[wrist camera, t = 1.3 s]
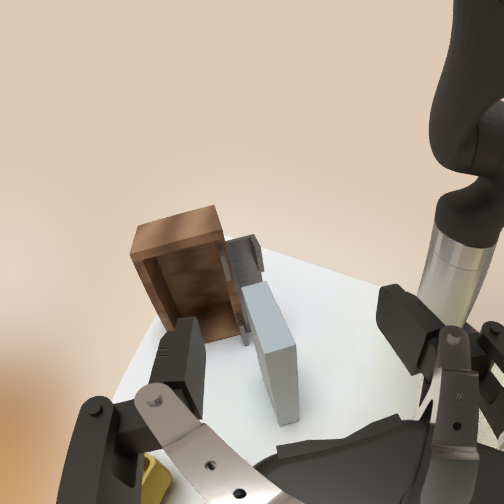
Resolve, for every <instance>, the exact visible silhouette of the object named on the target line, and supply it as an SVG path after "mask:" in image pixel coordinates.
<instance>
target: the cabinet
mask: <svg viewBox="0 0 504 504" xmlns="http://www.w3.org/2000/svg"><path fill="white" fill-rule="evenodd" d="M219 245H223V248H224V252H225V255H226V259H227V263H228V267H229V271H230V275H231V279H232V280H231V281H227V280H226V277H225V273H224V269H223V266H222V262H221V258H220V254H219V250H218V246H219ZM130 256H131V259H132V261H133V263H134V265H135V268H136V270H137V272H138V274H139V277H140V279H141V281H142V283H143V285H144V287H145V289H146V292H147V294H148V295H149V298H150V300H151V302H152V304H153V306H154V307H155V310H156V312H157V314H158V316H159V318H160V319H161V321H162V323H163V325H164V327H165V329H166V331H175V327H176V323H177V319H178V318H187V317H196V318H197V321H198V324H199V328H200V331H201V335H202V338H203V342H204V343H208V342H212V341H216V340H220V339H224V338H228V337H232V336H236V335H239V334H241V331H240V328H239V324H238V321H237V317H236V314H238V313H240V316H241V317H242V318H241V319H242V322H243V325H244V329H245V330H246V331H245V332H246V333H247V328H246V324H245V321H244V317H243V313H242V309H241V305H240V301H239V297H238V293H237V289H236V285H235V281H234V280H233V279H234V277H233V273H232V268H231V264H230V260H229V256H228V252H227V247H226V243H225V239H224V235H223V230H222V227H221V224H220V221H219V218H218V215H217V212H216V209H215V206H214V205H211V206H208V207H204V208H200V209H196V210H192V211H188V212H185V213H181V214H177V215H174V216H170V217H166V218H163V219H159V220H156V221H152V222H149V223H146V224H142V225H139V226H138V227H137V231H136V234H135V237H134V240H133V244H132V248H131V251H130ZM230 287H231V288H230ZM231 289H232V290H231ZM230 290H231V291H232V292H231V291H230ZM229 291H230V292H229ZM230 293H231V294H230ZM235 295H236V296H235ZM235 301H236V302H235ZM233 303H234V304H233ZM236 311H237V312H236Z"/></svg>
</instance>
